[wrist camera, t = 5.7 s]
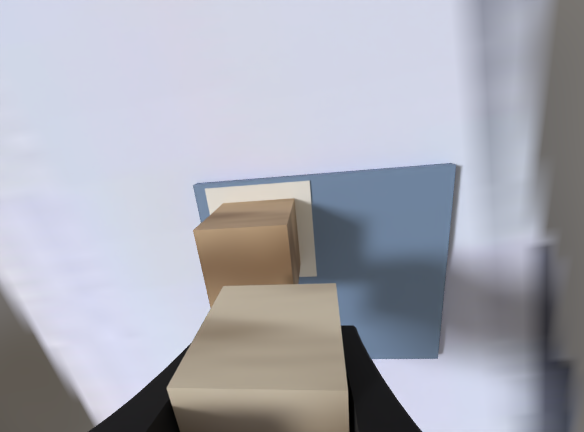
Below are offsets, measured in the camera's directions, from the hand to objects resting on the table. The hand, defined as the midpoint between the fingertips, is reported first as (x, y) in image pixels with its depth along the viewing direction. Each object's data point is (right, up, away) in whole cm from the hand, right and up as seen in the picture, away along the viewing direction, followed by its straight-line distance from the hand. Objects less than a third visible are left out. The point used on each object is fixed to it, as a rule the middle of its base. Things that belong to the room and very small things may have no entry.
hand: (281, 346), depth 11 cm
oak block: (-1, +4, +7) cm, 8 cm away
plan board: (+3, +1, +8) cm, 9 cm away
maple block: (0, 0, +1) cm, 1 cm away
